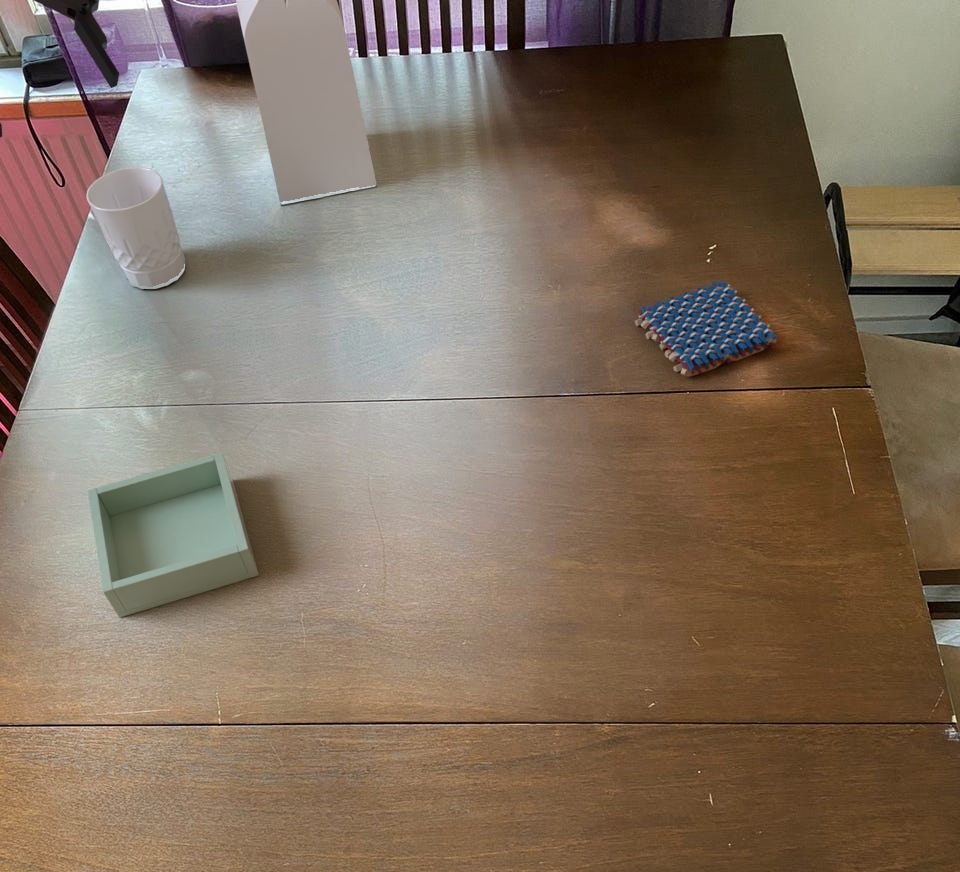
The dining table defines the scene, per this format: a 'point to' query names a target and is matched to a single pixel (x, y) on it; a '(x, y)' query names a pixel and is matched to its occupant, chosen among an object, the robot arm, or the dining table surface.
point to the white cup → (138, 224)
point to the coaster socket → (170, 535)
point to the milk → (306, 96)
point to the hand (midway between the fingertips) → (58, 106)
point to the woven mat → (706, 329)
